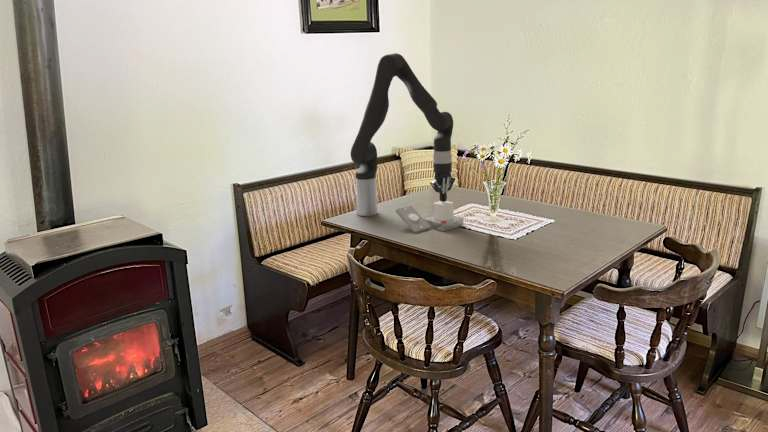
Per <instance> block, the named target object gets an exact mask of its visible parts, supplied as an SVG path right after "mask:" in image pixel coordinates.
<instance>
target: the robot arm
mask: <svg viewBox="0 0 768 432" xmlns="http://www.w3.org/2000/svg"><path fill="white" fill-rule="evenodd" d="M377 63H378V64H377V67H376V73H375V77H374V82H373V86H372V89H371V92H370V96H369V99H368V101H367V104H366V107H365V111H364V115H363V118H362V121H361V123H360V126H359V130H358V133H357V135H356V137H355V139H354V142H353V143H352V146H351V150H350V158H351V162H353V163H354V164H356V165H360V166H359V168H358V169H357V170H355V176H354V177H355V189H356V190H355V191H356V192H355V210H356V212H355V213H356V214H357V215H358V216H361V217H372V216H375V215H377V214H378V198H377V197H378V196H377V177H376V176H377V175H376V173H377V171H378V151H377V148H376V147H377V146H376V145H375V144H374V143H373V142H372V139H373V138H374V137H375V135H376V134H377V132H378V131H379V129H380V128H381V127H382V126H383V124H384V122H385V120H386V117H387V115H388V111H389V108H390V106H389V105H390V101H389V100H390V99H389V90H390V86H391V84H392V80H393V78H394V77H397V78H398V79H399V80H400V81H402V83H403V84H404V85H405V87H406V89H407V91H408V93H409V96H410V98H411V100H412V102H413V103H414V104H415V105H416V107H417V108H418V109H419V110H420V111H421V112H422V114H423V115H424V117H425V120H426V121H427V123H428V125H429V126H430V127H431V128H432V129H434V130H435V131H437V132H436V136H435V137H434V139H433V155H432V156H433V161H432V162H433V173H434V177H433V181H430V183H429V184H430V186H431V187H432V188H433V190H434V192H436V193H438V194H439V201H441V202H445V201H448V200H447V199H448V195H447V194H448V192H449V191H451V189H452V188H453V185H454V183H455V181H456V178H455V177H453V176H452V174H451V173H452V172H453V167H452V166H453V165H452V163H453V161H452V157H453V156H452V141H451V140H452V135H453V129H454V119H453V115H452V114H451V113H450V112H448V111H442V112H440V111H441V110H439V109H438V102H437V101H436V100H435V98H434V97H433V96H432V95H431V94H430V92H428V90H426V88H425V87H424V86H423V85H422V83H421V82H420V80H419V79H418V78H417V75H415V73H414V71H413V70H412V69H411V66H410V65H409V63H408V61H407V60H406V59H405V58H404V56H403V55H401V53H396V52H394V53H387V54H385V55H383V56H381V58H380V59H379V61H378V62H377Z"/></svg>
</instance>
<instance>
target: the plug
mask: <svg viewBox="0 0 768 432" xmlns="http://www.w3.org/2000/svg"><path fill="white" fill-rule="evenodd" d="M432 204H433V205H432V206H433V207H432V209H433V210H432V211H433V214H432V216H433V218H434V219H436V220H440V221H447V220H450V219H454V216H455V215H454V202H452V201H449V200H446V201H445V202H441V201H440V200H439V201H435V202H433V203H432Z"/></svg>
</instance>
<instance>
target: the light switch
mask: <svg viewBox="0 0 768 432" xmlns="http://www.w3.org/2000/svg"><path fill="white" fill-rule="evenodd" d="M395 213H396V214H397V215H398V216H399V217H400V219H402V221H403V222H404V223H405V224H406V225H407V226H408V227H409V229H410V230H411V231H412V232H413V234H418V233H421V232H424V231H428V230H430V229H432V228H431V227H430V226H429V225H428V224H427V222H426V221H425V220H424V218H423V217H422V216H421V214H419V213H418V211H417V210H416V209H415V208H414V207H413V206H412V205H408V206H404V207H401V208H398V209H397V208H396V209H395Z"/></svg>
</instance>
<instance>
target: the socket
mask: <svg viewBox="0 0 768 432" xmlns="http://www.w3.org/2000/svg"><path fill="white" fill-rule="evenodd" d="M453 216H454V219H450V220H447V221H440V220H436V219H434V218H433V215H432V216H428V217H425V218H423V219H424V220H425V221H426V222H427V224H428V225H429V226H430V227H431V228H430V229H434V230H437V231H441V232H445V231H449V230H452V229H455V228H459V227H461V226H464V218H463V217H460V216H457V215H453Z"/></svg>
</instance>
